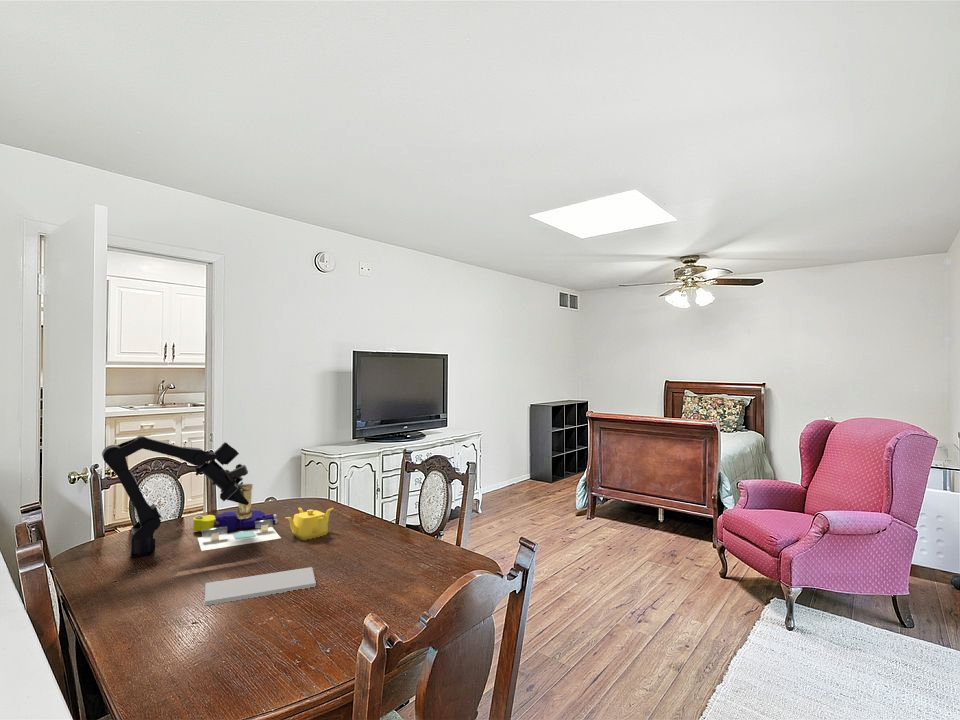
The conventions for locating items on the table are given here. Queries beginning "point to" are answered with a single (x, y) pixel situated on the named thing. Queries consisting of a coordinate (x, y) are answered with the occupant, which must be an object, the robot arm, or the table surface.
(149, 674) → the table surface
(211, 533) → the shafts
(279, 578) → the grey flat slab
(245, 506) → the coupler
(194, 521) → the toy
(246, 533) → the board
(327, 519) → the teapot
